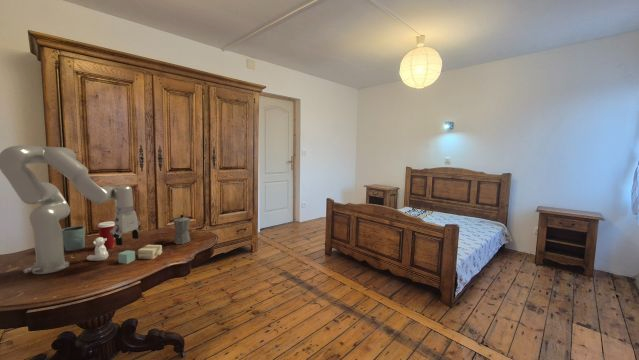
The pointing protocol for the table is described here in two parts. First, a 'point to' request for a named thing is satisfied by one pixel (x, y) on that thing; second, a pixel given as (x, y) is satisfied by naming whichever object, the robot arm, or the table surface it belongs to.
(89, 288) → the table surface
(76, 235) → the teal plant pot
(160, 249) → the beech block
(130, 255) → the teal cube
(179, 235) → the coffeepot
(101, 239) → the sitting furry creature
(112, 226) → the coffee cup
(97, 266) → the table surface
